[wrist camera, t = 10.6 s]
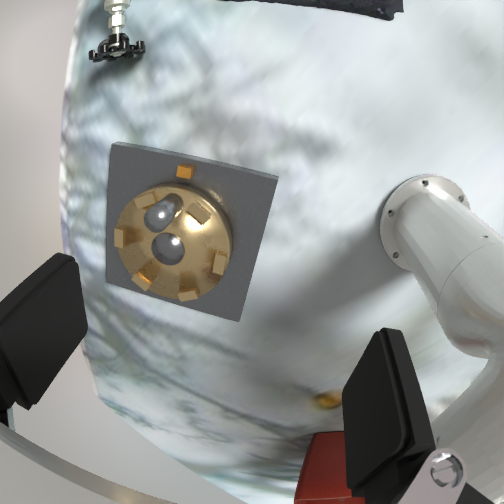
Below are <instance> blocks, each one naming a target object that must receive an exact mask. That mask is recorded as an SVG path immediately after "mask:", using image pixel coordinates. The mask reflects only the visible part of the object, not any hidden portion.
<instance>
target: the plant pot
mask: <svg viewBox="0 0 504 504" xmlns="http://www.w3.org/2000/svg"><path fill="white" fill-rule="evenodd" d="M294 504H365V497H352V494H351V489H348V488H347V483H346V455H345V436H344V431H342V432H327V433H317V434H315V435H314V436H313V438H312V441H311V443H310V445H309V448H308V451H307V453H306V456H305V459H304V462H303V466H302V469H301V472H300V476H299V480H298V484H297V488H296V492H295V497H294Z"/></svg>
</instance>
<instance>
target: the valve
mask: <svg viewBox="0 0 504 504" xmlns="http://www.w3.org/2000/svg"><path fill="white" fill-rule="evenodd" d="M129 6H130V0H106V1H105V2H104V10H105V11H108V12H109V14H111V15H112V17H110V18H109V19H108V26H109V29H113V34H112V35H110V36H109V37H108V40H104V41H102V42H101V43H100V44H99V46H98V53H95V50H91V51H89V60H93V62H94V63H95V62H100V61H102V60H107V61H108V62H111V61H115V60H116V59H117V58H122V57H124V58H126V59H127V58H132V57H134V54H144V53H145V45H144V41H137V42H136V43H137V45H136V46H135V45H129V38H128V36H127V35H126V34H125V33H121V28H123V27H124V26H125V16H123V15H122V13H123V12H124V11H125V9H127V8H128V7H129Z"/></svg>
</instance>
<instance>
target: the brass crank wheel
mask: <svg viewBox="0 0 504 504" xmlns="http://www.w3.org/2000/svg"><path fill="white" fill-rule="evenodd" d="M114 246H115V247H117V249H118V252H119V255H120V258H121V260H122V262H123V264H124V266H125V267H126V269H127V270H128V272H129V273H130V274H131V275H132V276H133V277H132V279H131V280H132V281H133V282H135V283H136V284H137V285H138V286H139V287H141V288H142V289H143V290H144V291H147V289H148V290H150V291H152V292H154V293H156V294H158V295H161V296H164V297H168V298H173V299H180V301H181V302H183V301H188V300H194V299H198V298H199V296H201V295H203V294H205V293H207V292H209V291H210V290H211V289H213V288H214V287H215V286H216V285H217V284H218V283H219V282H220V280H221V278H222V277H223V275H224V273H225V271H226V268H227V266H228V263H229V260H230V257H231V254H232V234H231V230H230V226H229V224H228V221H227V219H226V217H225V215H224V214H223V212H222V211H221V209H220V208H219V207H218V206H217V204H216V203H215V202H214V201H213V200H212V199H211V198H209V197H208V196H207V195H205V194H204V193H202V192H200V191H199V190H197V189H195V188H192V187H190V186H186V185H183V184H176V183H166V184H159V185H156V186H153V187H151V188H148V189H147V190H145V191H144V192H142V193H141V194H139V195H138V196H136V197H135V198H133V199H132V200H131V201H130V202H129V203H128V204H127V205H126V206H125V208H124V209H123V211H122V212H121V214H120V216H119V219H118V222H117V227H115V228H114Z"/></svg>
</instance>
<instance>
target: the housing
mask: <svg viewBox="0 0 504 504" xmlns="http://www.w3.org/2000/svg"><path fill="white" fill-rule="evenodd" d="M277 182H278V176H275V175H271V174H267V173H263V172H259V171H256V170H252V169H248V168H244V167H240V166H235V165H231V164H227V163H223V162H218V161H214V160H210V159H205V158H201V157H196V156H192V155H187V154H182V153H177V152H172V151H167V150H162V149H157V148H152V147H147V146H141V145H136V144H130V143H124V142H116V143H113V144H112V146H111V156H110V168H109V181H108V197H107V222H106V275H107V282H109V283H112V284H115V285H118V286H121V287H124V288H127V289H130V290H133V291H136V292H139V293H142V294H145V295H148V296H151V297H155V298H158V299H161V300H164V301H168V302H171V303H174V304H177V305H181V306H184V307H188V308H191V309H194V310H198V311H201V312H205V313H208V314H212V315H215V316H219V317H223V318H226V319H230V320H234V321H238V322H239V320H240V317H241V313H242V310H243V306H244V302H245V299H246V295H247V291H248V288H249V284H250V281H251V277H252V273H253V270H254V266H255V262H256V259H257V255H258V251H259V248H260V244H261V240H262V237H263V233H264V229H265V226H266V222H267V218H268V215H269V211H270V207H271V204H272V200H273V196H274V193H275V189H276V185H277ZM166 183H176V184H183V185H186V186H190V187H192V188H195V189H197V190H199V191H200V192H202V193H204V194H205V195H207V196H208V197H209V198H211V199H212V200H213V201H214V202H215V203H216V204H217V206H218V207H219V208H220V209H221V211H222V212H223V214H224V215H225V217H226V219H227V221H228V224H229V226H230V230H231V234H232V254H231V257H230V260H229V263H228V266H227V268H226V271H225V273H224V275H223V277H222V278H221V280H220V282H219V283H218V284H217V285H216V286H215V287H214V288H213V289H211V290H210V291H209V292H207V293H205V294H203V295H201V296H199V298H198V299H194V300H188V301H183V302H181V301H180V299H173V298H168V297H164V296H161V295H158V294H156V293H154V292H152V291H150V290H148V289H147V291H144V290H143V289H142V288H141V287H139V286H138V285H137V284H136V283H135V282H133V281H132V280H131V279H132V277H133V276H132V275H131V274H130V273H129V272H128V270H127V269H126V267H125V266H124V264H123V262H122V260H121V258H120V255H119V252H118V249H117V247H115V246H114V228H115V227H117V222H118V219H119V216H120V214H121V212H122V211H123V209H124V208H125V206H126V205H127V204H128V203H129V202H130V201H131V200H132V199H133V198H135V197H136V196H138V195H139V194H141V193H142V192H144V191H145V190H147V189H148V188H151V187H153V186H156V185H159V184H166Z"/></svg>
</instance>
